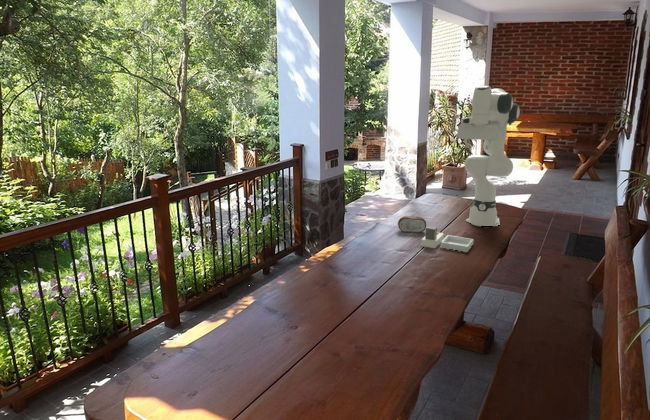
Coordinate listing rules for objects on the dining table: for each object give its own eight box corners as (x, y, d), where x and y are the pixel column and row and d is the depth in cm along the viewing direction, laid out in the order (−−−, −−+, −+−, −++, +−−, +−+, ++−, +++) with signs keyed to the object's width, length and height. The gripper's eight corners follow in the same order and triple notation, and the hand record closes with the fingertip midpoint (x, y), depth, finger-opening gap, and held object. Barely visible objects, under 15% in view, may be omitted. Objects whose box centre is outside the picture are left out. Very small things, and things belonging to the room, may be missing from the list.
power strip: (433, 234, 260) (433, 227, 259) (446, 236, 257) (447, 229, 256) (421, 245, 242) (421, 238, 241) (435, 248, 239) (435, 240, 238)
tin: (425, 231, 265) (426, 216, 263) (426, 233, 262) (427, 218, 260) (397, 230, 266) (398, 215, 264) (397, 232, 263) (398, 217, 261)
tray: (447, 240, 251) (447, 235, 250) (473, 244, 245) (473, 239, 244) (440, 247, 240) (440, 242, 239) (467, 252, 234) (467, 246, 233)
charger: (427, 238, 246) (428, 225, 245) (436, 240, 244) (437, 227, 243) (425, 241, 243) (426, 228, 241) (433, 242, 241) (434, 229, 239)
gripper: (503, 120, 236) (500, 149, 240) (460, 118, 246) (458, 146, 249) (501, 121, 231) (498, 150, 235) (457, 119, 240) (455, 147, 244)
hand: (477, 148), depth 242 cm, fingers open, 8 cm apart
